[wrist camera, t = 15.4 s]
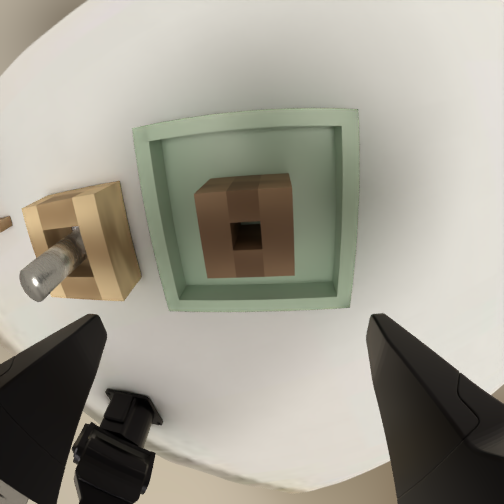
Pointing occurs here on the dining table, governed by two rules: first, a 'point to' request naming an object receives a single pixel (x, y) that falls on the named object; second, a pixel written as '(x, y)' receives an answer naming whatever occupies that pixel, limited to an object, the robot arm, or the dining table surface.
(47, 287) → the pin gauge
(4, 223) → the tube rest
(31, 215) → the oak block
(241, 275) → the walnut block
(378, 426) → the dining table surface
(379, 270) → the dining table surface
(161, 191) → the tray
